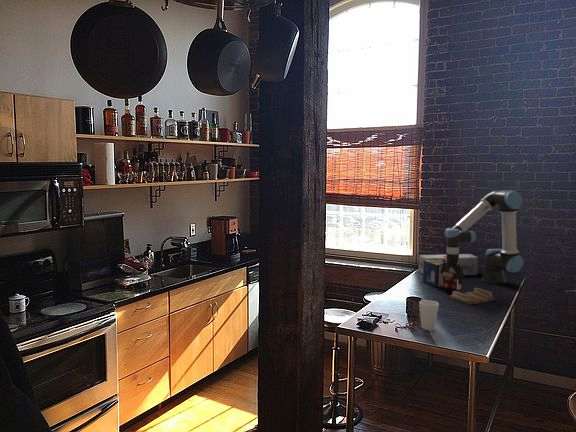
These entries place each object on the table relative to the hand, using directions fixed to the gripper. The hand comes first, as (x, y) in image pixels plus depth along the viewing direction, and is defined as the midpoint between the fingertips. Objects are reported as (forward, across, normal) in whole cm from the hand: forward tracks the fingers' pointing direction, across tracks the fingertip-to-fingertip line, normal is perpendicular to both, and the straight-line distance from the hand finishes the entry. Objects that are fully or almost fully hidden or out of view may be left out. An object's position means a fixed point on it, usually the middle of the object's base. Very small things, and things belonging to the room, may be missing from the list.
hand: (451, 287), depth 310 cm
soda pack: (+4, -39, +36) cm, 53 cm away
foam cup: (+3, +44, -60) cm, 75 cm away
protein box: (+4, -20, +6) cm, 21 cm away
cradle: (+3, +17, 0) cm, 17 cm away
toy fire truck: (+1, 0, 0) cm, 1 cm away
